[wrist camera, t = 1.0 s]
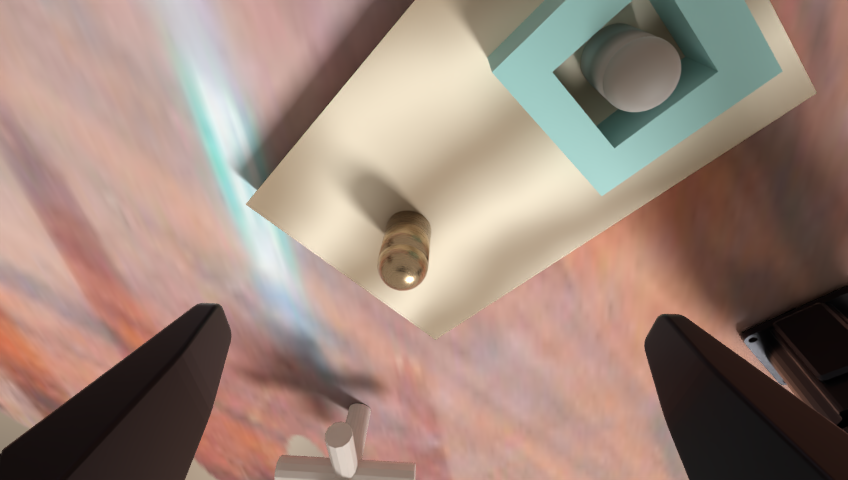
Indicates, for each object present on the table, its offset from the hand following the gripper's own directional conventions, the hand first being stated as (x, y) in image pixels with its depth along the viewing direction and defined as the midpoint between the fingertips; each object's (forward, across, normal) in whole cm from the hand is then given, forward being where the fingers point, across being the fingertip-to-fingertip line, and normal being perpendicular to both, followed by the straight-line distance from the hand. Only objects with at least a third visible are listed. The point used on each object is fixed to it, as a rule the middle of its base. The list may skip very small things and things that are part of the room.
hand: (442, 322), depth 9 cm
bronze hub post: (+12, +1, +6) cm, 13 cm away
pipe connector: (+13, +5, +26) cm, 29 cm away
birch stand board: (+13, -3, +2) cm, 14 cm away
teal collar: (+12, -7, -3) cm, 14 cm away
